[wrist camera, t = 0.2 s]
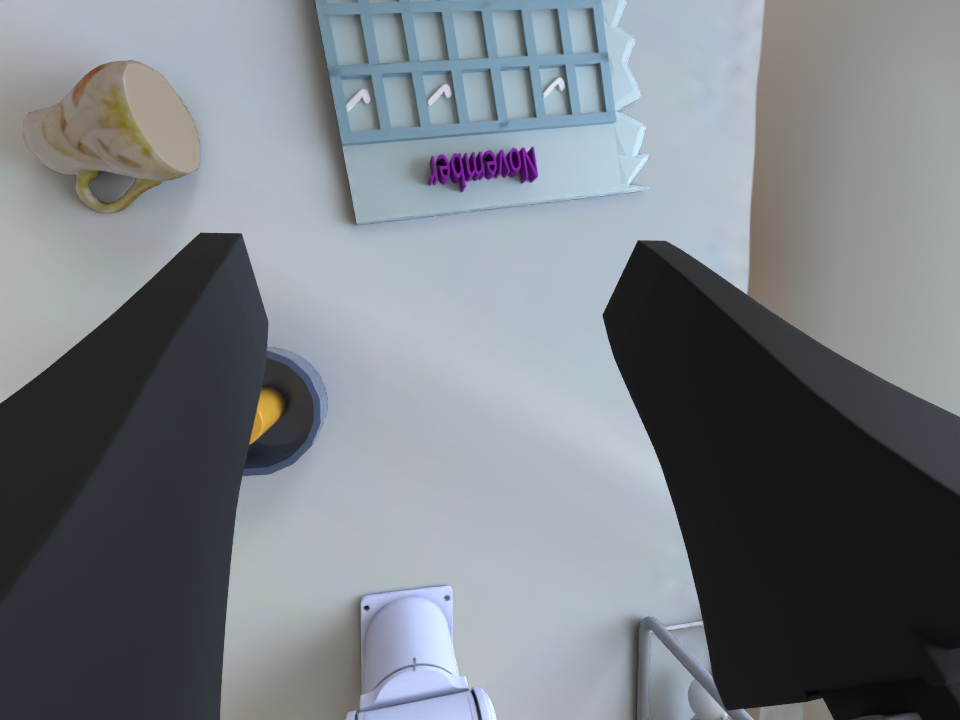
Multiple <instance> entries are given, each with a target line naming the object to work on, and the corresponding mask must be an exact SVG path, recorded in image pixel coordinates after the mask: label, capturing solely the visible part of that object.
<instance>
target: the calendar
mask: <svg viewBox="0 0 960 720" xmlns="http://www.w3.org/2000/svg"><path fill="white" fill-rule="evenodd" d="M626 2H627V0H315V4H316V10H317V15H318V20H319V26H320V31H321V36H322V41H323V47H324V52H325V57H326V63H327V68H328V73H329V79H330V84H331V89H332V94H333V100H334V105H335V110H336V116H337V121H338V126H339V132H340V137H341V142H342V147H343V153H344V158H345V163H346V169H347V174H348V179H349V185H350V190H351V195H352V201H353V206H354V211H355V216H356V222H357V225H363V224H372V223H380V222H388V221H397V220H405V219H414V218H422V217H430V216H439V215H447V214H456V213H464V212H472V211H481V210H489V209H497V208H506V207H514V206H523V205H531V204H539V203H548V202H556V201H565V200H573V199H581V198H590V197H598V196H607V195H615V194H621V193H630V192H638V191H646V190H649V189H651V188H647V187H642V186H636V185H630V184H629V183H630V182H631V180H632V179H633V178H634V176H635V175H636V174H637V172H638V171H639V170H640V168H641V167H642V166H643V164H644V163H645V161H646V160H647V159H648V157H649V155H641V154H638V152H639V149H640V146H641V142H642V139H643V136H644V133H645V129H646V126H645V125H644V124H643V123H641V122H639V121H637V120H635V119H633V118H631V117H629V116H627V115H625V114H623V113H621V112H619V111H618V110H620V109H621V108H623V107H625V106H626V105H628V104H630V103H631V102H633V101H635V100H636V99H638V98H639V97H640V96H641V91H640V89H639V87H638V85H637V83H636V81H635V79H634V77H633V74H632V72H631V70H630V68H629V66H628V64H627V61H628V59H629V56H630V54H631V51H632V49H633V46H634V43H635V41H636V40H635V37H633V36H632V35H630V34H629V33H627V32H626V31H624V30H623V29H621V28H620V27H618V26H617V25H618V23H619V20H620V18H621V15H622V12H623V10H624V7H625V5H626Z"/></svg>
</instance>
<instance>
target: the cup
mask: <svg viewBox="0 0 960 720" xmlns="http://www.w3.org/2000/svg"><path fill="white" fill-rule="evenodd" d="M262 387H272V388H274V389H276V390H278V391H279V392H280V393H281V394H282V395H283V396H284V398H285V401H286V410H285V412H284V414H283V416H282V417H281V418H280V419H279V420H278V421H277V422H276V423H275V424H273V425H272V426H271V427H270V428H269V429H268V430H267V431H266V432H264V433H263V434H262V435H261V436H260V437H259V438H258V439H257V440H255V441H254V442H253V443H252V444H250V445H249V448H248V452H247V457H246V461H245V466H244V471H243V475H242V476H250V475H266V474H271V473H274V472H276V471H278V470H280V469H283V468H285V467H287V466H290V465H292V464H293V463H295V462H296V461H297V460H298V459H299V458H300V457H301V456H302V455H303V454H304V453H305V452H306V451H307V450H308V449H309V448H310V447H311V446H312V444H313V442H314V441H315V439H316V437H317V436H318V434H319V431H320V429H321V427H322V425H323V423H324V420H325V417H326V412H327V393H326V389H325V386H324V383H323V381H322V379H321V377H320V375H319V374H318V372H317V371H316V370H315V369H314V367H313V366H312V365H311V364H310V363H308V362H307V361H306V360H305V359H303V358H302V357H300V356H298V355H296V354H294V353H292V352H290V351H286V350H283V349H278V348H267V353H266V364H265V373H264V378H263V383H262Z"/></svg>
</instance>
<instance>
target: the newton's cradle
mask: <svg viewBox="0 0 960 720" xmlns="http://www.w3.org/2000/svg"><path fill="white" fill-rule="evenodd" d="M702 625H704V624H703V621H698V622H692V623H686V624H679V625H673V626H667V627H664V626H663V625H662V624H661V623H660V622H659V621H658V620H656V619H655V618H653V617H646V618H644V619H643V620H642V621H641V623H640V627H639V650H638V692H637V720H649V686H650V648H651V634H652V633H654V634H655V635H656V636H657V637H658V638H659V639H660V640H661V641H662V643H663V644H664V645H665V646H666V647H667V648H668V649H669V650H670V651H671V652H672V654H673V655H674V656H675V657H676V658H677V659H678V660H679V661H680V662H681V663H682V665H683V666H684V667H685V668H686V669H687V670H688V671H689V672H690V673H691V674H692V676H693V677H694V678H695V680H694V681H693V682H692V683H691V684H690V687H689V690H688V699H689V703H690V706H691V708H692V710H693V712H694V713H695V714H696V715H695V716H694V717H692V718H691V720H729V719H730V720H753V718H752V717H751V716H750V715H749V714H748V713H747V712H746V711H745V710H744V709H739V710H730V711H727V710H726V708H725V707H724V705H723V703H722V700H721V698H720V695H719V693H718V691H717V688H716V686H715V683H714V681H713V677H712V676H711V675H710V674H709V673H708V672H707V671H706V670H705V669H704V668H703V666H702V665H701V664H700V663H699V662H698V661H697V660H696V659H695V658H694V657H693V656H692V655H691V654H690V653H689V652H688V651H687V650H686V649H685V648H684V647H683V646H682V645H681V644H680V643H679V642H678V641H677V639H676V638H675V637H674V636H673V635H672V634H671V633H670V632H669V631H671V630H677V629H683V628H690V627H696V626H702ZM730 717H731V718H730Z"/></svg>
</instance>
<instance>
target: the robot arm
mask: <svg viewBox="0 0 960 720" xmlns="http://www.w3.org/2000/svg"><path fill="white" fill-rule="evenodd" d="M603 319H604V323H605V327H606V331H607V335H608V339H609V342H610V346H611V349H612V352H613V356H614V359H615V361H616V363H617V366H618V368H619V370H620V373H621V375H622V377H623V380H624V382H625V384H626V387H627V389H628V391H629V393H630V396H631V398H632V400H633V402H634V404H635V407H636V409H637V411H638V413H639V416H640V418H641V420H642V422H643V424H644V427H645V429H646V431H647V433H648V436H649V438H650V440H651V442H652V445H653V447H654V449H655V452H656V454H657V457H658V459H659V462H660V465H661V467H662V470H663V473H664V476H665V480H666V483H667V486H668V489H669V492H670V495H671V498H672V501H673V505H674V508H675V511H676V515H677V518H678V522H679V525H680V529H681V532H682V536H683V539H684V543H685V546H686V550H687V554H688V558H689V562H690V566H691V570H692V574H693V579H694V583H695V587H696V591H697V595H698V599H699V604H700V609H701V614H702V619H703V624H704V629H705V635H706V640H707V645H708V650H709V656H710V662H711V668H712V674H713V681H714V683H715V686H716V688H717V691H718V693H719V695H720V698H721V700H722V703H723V705H724V707H725V708H726V710H727V711H730V710H739V709H747V708H756V707H765V706H774V705H783V704H791V703H800V702H808V701H812V700H816V699H820V698H823V699H824V701H825V703H826V705H827V707H828V709H829V711H830V713H831V715H832V717H833V719H834V720H960V417H959V416H957V415H954V414H952V413H950V412H948V411H946V410H944V409H942V408H940V407H938V406H935V405H934V404H931V403H929V402H927V401H925V400H923V399H921V398H919V397H917V396H915V395H913V394H911V393H909V392H907V391H905V390H903V389H901V388H899V387H897V386H895V385H893V384H891V383H889V382H887V381H885V380H883V379H882V378H880V377H878V376H876V375H875V374H873V373H871V372H869V371H867V370H865V369H864V368H862V367H860V366H858V365H856V364H854V363H853V362H851V361H849V360H847V359H845V358H844V357H842V356H840V355H839V354H837V353H835V352H834V351H832V350H830V349H829V348H827V347H825V346H824V345H822V344H820V343H819V342H817V341H816V340H814V339H812V338H811V337H809V336H808V335H806V334H805V333H803V332H802V331H800V330H798V329H797V328H795V327H794V326H792V325H791V324H789V323H788V322H786V321H785V320H783V319H782V318H780V317H779V316H777V315H775V314H774V313H772V312H771V311H770V310H768V309H767V308H765V307H764V306H762V305H761V304H759V303H758V302H756V301H755V300H754V299H752V298H751V297H749V296H748V295H746V294H745V293H744V292H742V291H741V290H739V289H738V288H736V287H735V286H734V285H732V284H731V283H729V282H728V281H726V280H725V279H724V278H722V277H721V276H719V275H718V274H716V273H715V272H714V271H712V270H711V269H709V268H708V267H706V266H705V265H704V264H702V263H701V262H699V261H698V260H696V259H695V258H693V257H692V256H690V255H689V254H687V253H685V252H684V251H682V250H681V249H679V248H677V247H676V246H674V245H672V244H670V243H668V242H667V241H640V240H638V241H637V244H636V246H635V248H634V250H633V252H632V254H631V256H630V258H629V260H628V262H627V265H626V267H625V269H624V271H623V273H622V275H621V277H620V279H619V281H618V284H617V286H616V288H615V290H614V292H613V294H612V296H611V298H610V300H609V303H608V305H607V307H606V309H605V311H604V313H603ZM267 338H268V319H267V316H266V312H265V309H264V306H263V303H262V299H261V296H260V293H259V289H258V286H257V283H256V279H255V276H254V273H253V269H252V266H251V263H250V260H249V256H248V253H247V250H246V246H245V243H244V240H243V236H242V234H239V233H200V234H199V235H198V236H196V237H195V238H194V239H193V240H192V241H191V242H190V243H189V244H188V245H186V246H185V247H184V248H183V249H182V250H181V251H180V252H179V253H178V254H177V255H176V256H175V257H174V258H173V259H172V260H171V261H170V262H169V263H167V264H166V265H165V266H164V267H163V268H162V269H161V270H160V271H159V272H158V273H157V274H156V275H155V276H154V277H153V278H152V279H151V280H150V281H148V282H147V283H146V284H145V285H144V286H143V287H142V288H141V289H140V290H139V291H138V292H136V293H135V294H134V295H133V296H132V297H131V298H130V299H129V300H128V301H127V302H126V303H124V304H123V305H122V306H121V307H120V308H119V309H118V310H117V311H116V312H115V313H114V314H112V315H111V316H110V317H109V318H108V319H107V320H105V321H104V322H103V323H102V324H101V325H99V326H98V327H97V328H96V329H95V330H93V331H92V332H91V333H90V334H89V335H87V336H86V337H85V338H84V339H82V340H81V341H80V342H79V343H78V344H76V345H75V346H74V347H73V348H72V349H70V350H69V351H68V352H67V353H66V354H64V355H63V356H62V357H61V358H59V359H58V360H57V361H56V362H55V363H53V364H52V365H51V366H50V367H49V368H47V369H46V370H45V371H43V372H42V373H41V374H40V375H38V376H37V377H36V378H34V379H33V380H32V381H30V382H29V383H28V384H26V385H25V386H24V387H22V388H21V389H20V390H18V391H17V392H16V393H14V394H13V395H12V396H10V397H9V398H7V399H6V400H5V401H3V402H2V403H0V720H220V704H221V683H222V667H223V652H224V636H225V621H226V610H227V598H228V586H229V575H230V563H231V554H232V544H233V535H234V526H235V516H236V508H237V502H238V496H239V490H240V484H241V480H242V475H243V471H244V466H245V461H246V457H247V452H248V448H249V443H250V439H251V434H252V430H253V425H254V421H255V416H256V412H257V407H258V402H259V398H260V393H261V388H262V383H263V378H264V373H265V364H266V353H267ZM445 596H449V597H448V598H447V599H445V598H444V597H445ZM364 606H369V608H367V609H365V608H364ZM360 609H361V680H362V695H361V696H360V703H359V713H358V716H357V712H356V711H351V712H348V713H347V714H346V717H345V719H344V720H496V715H495V711H494V708H493V704H492V702H491V699H490V697H489V696H488V695H487V694H486V693H485V692H484V691H483V690H482V688H481V687H479V686H478V687H472V688H471V691H469V688H468V684H467V680H466V677H465V676H460V675H459V671H458V667H457V663H456V658H455V654H454V650H453V645H452V589H451V587H450V586H438V587H430V588H421V589H413V590H405V591H396V592H388V593H380V594H371V595H365V596H363V597H362V598H361V602H360Z"/></svg>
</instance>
